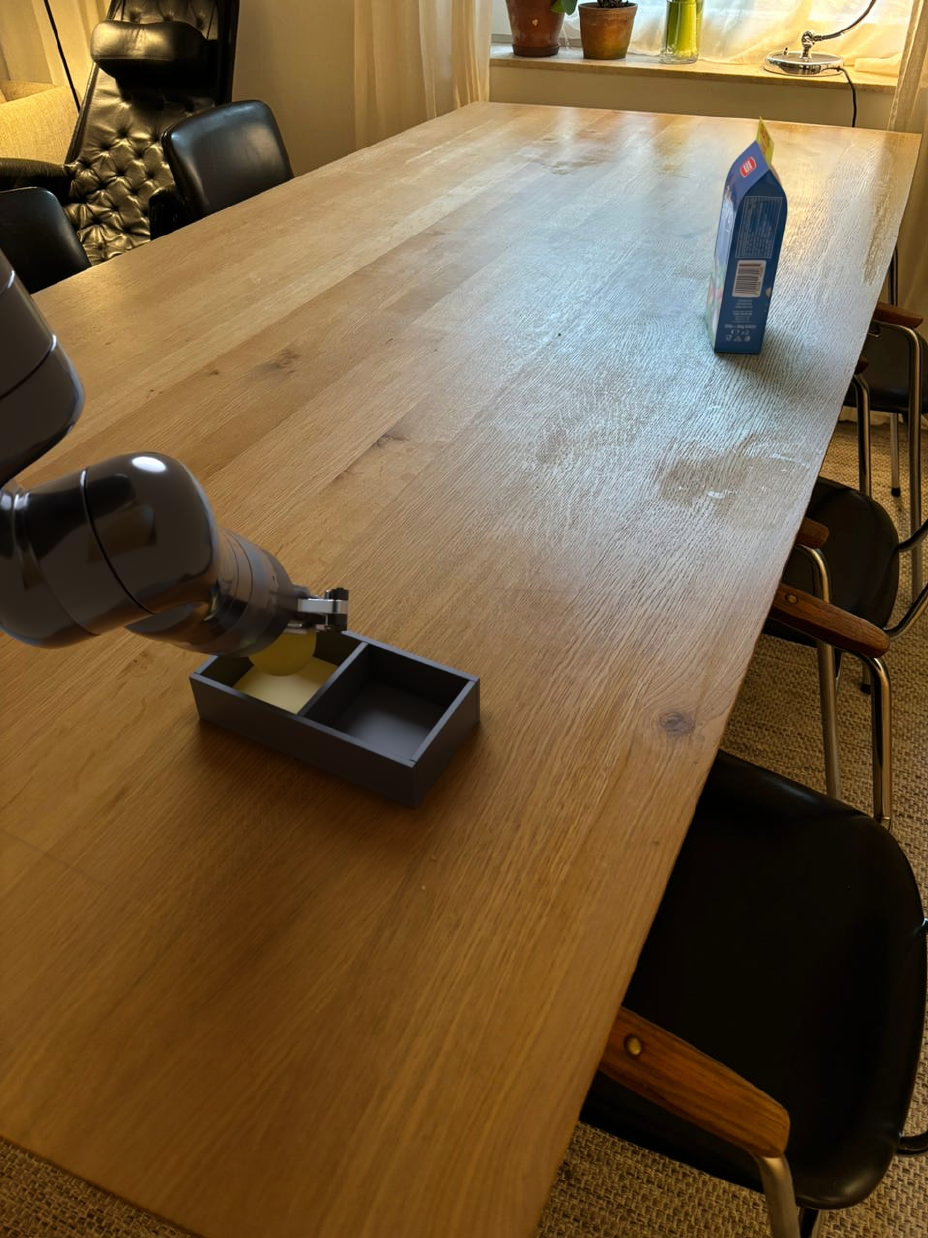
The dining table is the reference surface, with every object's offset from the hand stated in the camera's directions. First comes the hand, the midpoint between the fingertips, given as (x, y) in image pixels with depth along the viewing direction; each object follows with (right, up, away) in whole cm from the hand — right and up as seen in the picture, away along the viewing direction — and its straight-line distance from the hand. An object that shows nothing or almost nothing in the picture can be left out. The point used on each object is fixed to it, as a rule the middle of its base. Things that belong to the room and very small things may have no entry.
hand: (283, 617), depth 77 cm
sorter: (+4, -8, +2) cm, 9 cm away
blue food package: (+49, +38, +55) cm, 83 cm away
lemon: (0, -4, +1) cm, 5 cm away
